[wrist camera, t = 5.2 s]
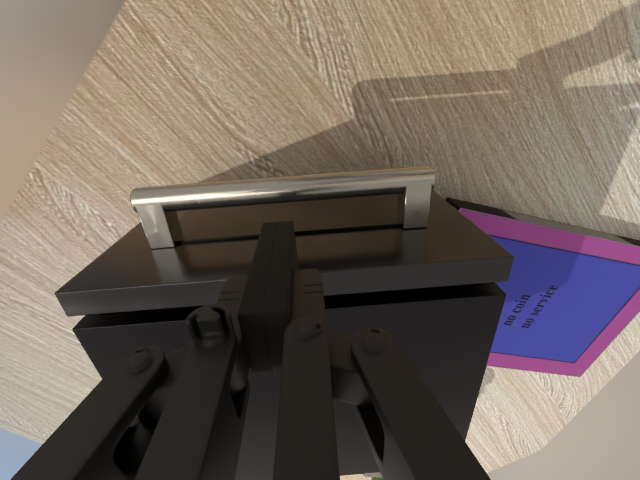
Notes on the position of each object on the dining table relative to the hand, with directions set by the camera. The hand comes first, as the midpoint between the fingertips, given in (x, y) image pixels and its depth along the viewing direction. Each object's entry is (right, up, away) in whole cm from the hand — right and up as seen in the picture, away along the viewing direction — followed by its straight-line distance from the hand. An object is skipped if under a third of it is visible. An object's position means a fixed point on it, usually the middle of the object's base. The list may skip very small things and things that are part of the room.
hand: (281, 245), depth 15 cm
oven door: (-1, +7, +16) cm, 17 cm away
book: (+28, -7, +25) cm, 38 cm away
